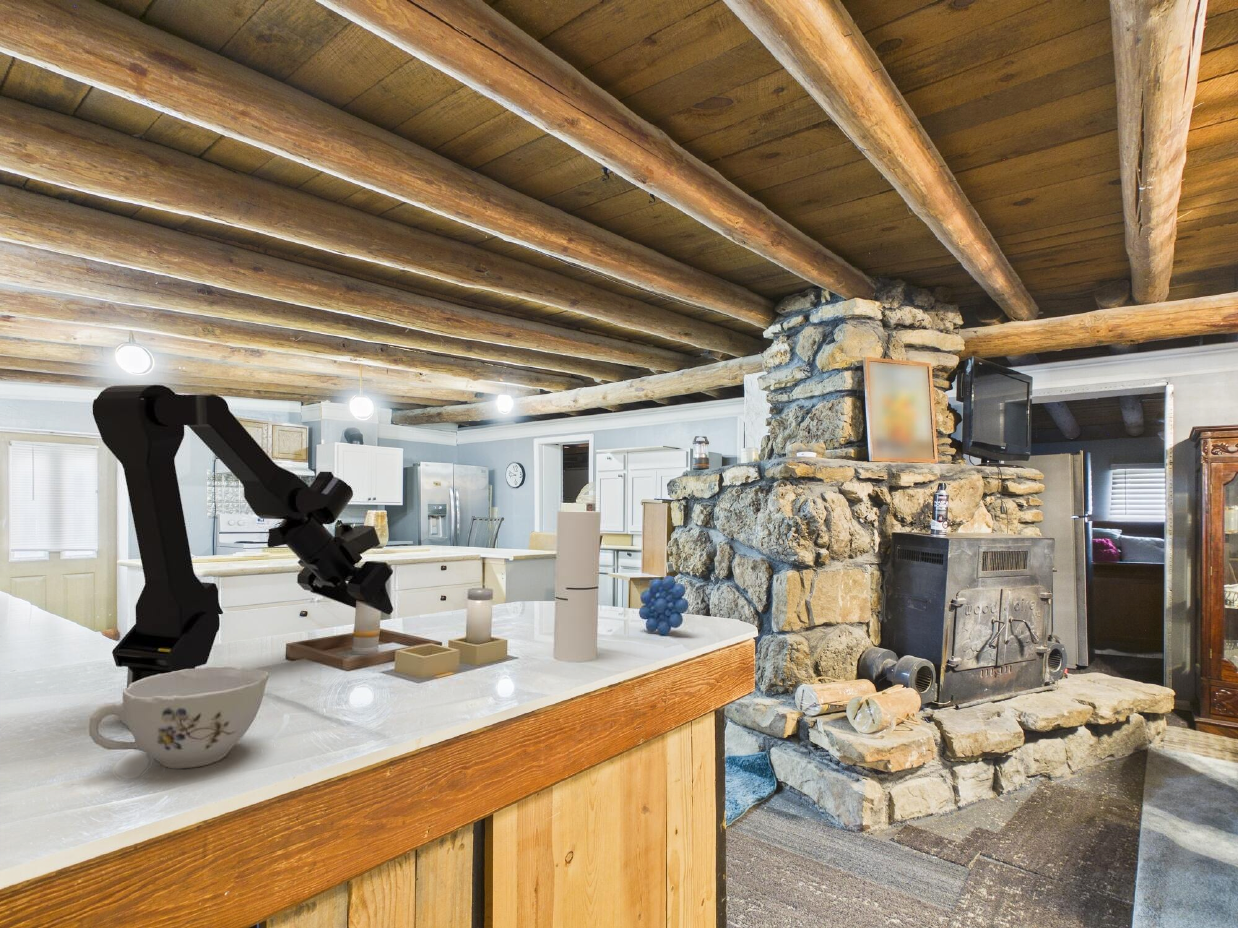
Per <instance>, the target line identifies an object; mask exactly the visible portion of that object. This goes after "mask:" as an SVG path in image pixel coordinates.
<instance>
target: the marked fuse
mask: <svg viewBox="0 0 1238 928" xmlns="http://www.w3.org/2000/svg"><path fill="white" fill-rule="evenodd" d="M354 611H355V613H354V625H353V632H352V633H353V647H352V650H351V653H352V655H355V656H363V655H369V654H374V653H379V645H378V644H379V636H380V629H381V628H380V627H381V618H382V612H381V611H378V610H376V609H374V608H372V607H369V606H367V605H365V604H362V603H360V602H358V601H356V608H355V610H354Z"/></svg>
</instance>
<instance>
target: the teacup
mask: <svg viewBox="0 0 1238 928" xmlns="http://www.w3.org/2000/svg"><path fill="white" fill-rule="evenodd" d="M269 676H270V674H269V672H268V671H264V670H260V669H256V668H249V667H241V668H237V667H233V666H232V667H231V666H207V667H195V669H184V670H179V671H173V672H170V673H164V674H157V675H153V676H150V677H146V678H143V679H141V680H138V681H136V682H133V683H131V684H130V685H129V687H128V688H127V687H126V688H124V689H122V703H115V702H108V703H105V704H102V705H100V706H98V707H97V708H96V709H95V710H94V711H93V713H92V714H91V716H90V718H89V726H88V727H89V728H88V732H89V733H88V734H89V736H90V737H91V739H92V741H93V742H94V743H95V744H96V745H98V746H100V747H101V748H102V749H106V750H113V751H114V750H115V751H116V750H117V751H118V750H119V751H121V750H125V751H126V750H137V751H140V752H144V753H145V754H147V755H149V756H150V757H151V758H153V759H154V760H156V761H158V762H159V763H160V764H161V765H162V766H164V768H165V767H166V768H169V769H189V768H198V767H203V766H207V765H211V764H215V763H216V762H219V761H221V760H223V759H224V757H226V756H227V755H228V753H229V752H230V751H231V749H232V748H233V747H235V746H236V745H237V743H238V742H239V741H241V739H242V738H243V737H244V735H245V734H246V733H247V731H248V730H249V728H250V727H251V726H252V724H253V722H254V720H255V719H256V717H257V714H258V712H259V710H260V708H261V705H262V701H263V699H264V694H265V690H266V686H267V682H268V679H269ZM112 715H114V716H117V717H118V718H119V719H120V720H121V721H122V723H123V724H124V725H126V726H127V728H128V729H129V731H130V733H131V735H132V736H133V738H134V741H119V740H114V739H110V738H107V737H105V736H103V735H102V734H100V732H99V726H100V724H101V722H102V721H103V720H104V718H106V717H108V716H112Z"/></svg>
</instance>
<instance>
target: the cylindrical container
mask: <svg viewBox="0 0 1238 928" xmlns="http://www.w3.org/2000/svg"><path fill="white" fill-rule="evenodd" d="M556 524H557V525H556V528H557V529H556V557H555V560H556V561H555V585H554V586H555V587H554V588H555V589H554V591H555V593H554V594H555V595H554V596H555V597H554V623H553V624H554V628H553V629H554V630H553V631H554V632H553V659H554V660H556V661H558V662H563V663H574V664H575V663H577V664H578V663H589V662H593V661H595V660H596V659H597V658H598V627H599V625H598V624H599V622H598V620H599V591H600V590H599V584H600V550H601V549H600V546H601V545H600V544H601V543H600V542H601V511H597V510H596V511H595V510H594V511H593V510H557V522H556Z"/></svg>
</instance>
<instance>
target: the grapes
mask: <svg viewBox="0 0 1238 928" xmlns="http://www.w3.org/2000/svg"><path fill="white" fill-rule="evenodd" d="M648 588H649V589H645V590H643V591H642V593H640V602H641V603H642V604H643V605H642V606H641V607H640V608H639V610H638V615H639V617H640V619H642V620H646V622H645V629H646V630H647V631H649V632H655V631H657V632H658V634H659V635H663V636H665V635H668V634H669V633H670V631H671V630H672V628H674V629H677V628H680V626H681V625H682V624H683V621H684V619H683V618H684V617H683V615H682V614H684V613H686V611H688V609H689V601H688V600H687V599H686V598H683V597H684V596H685V595H686V585H684V584H683V583H679V582H678V583H676V580H675V578H674V577H673V576H671V575H666V576H665V577H663V579H662V580H661V578H652V580H650V582H649V585H648Z"/></svg>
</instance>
